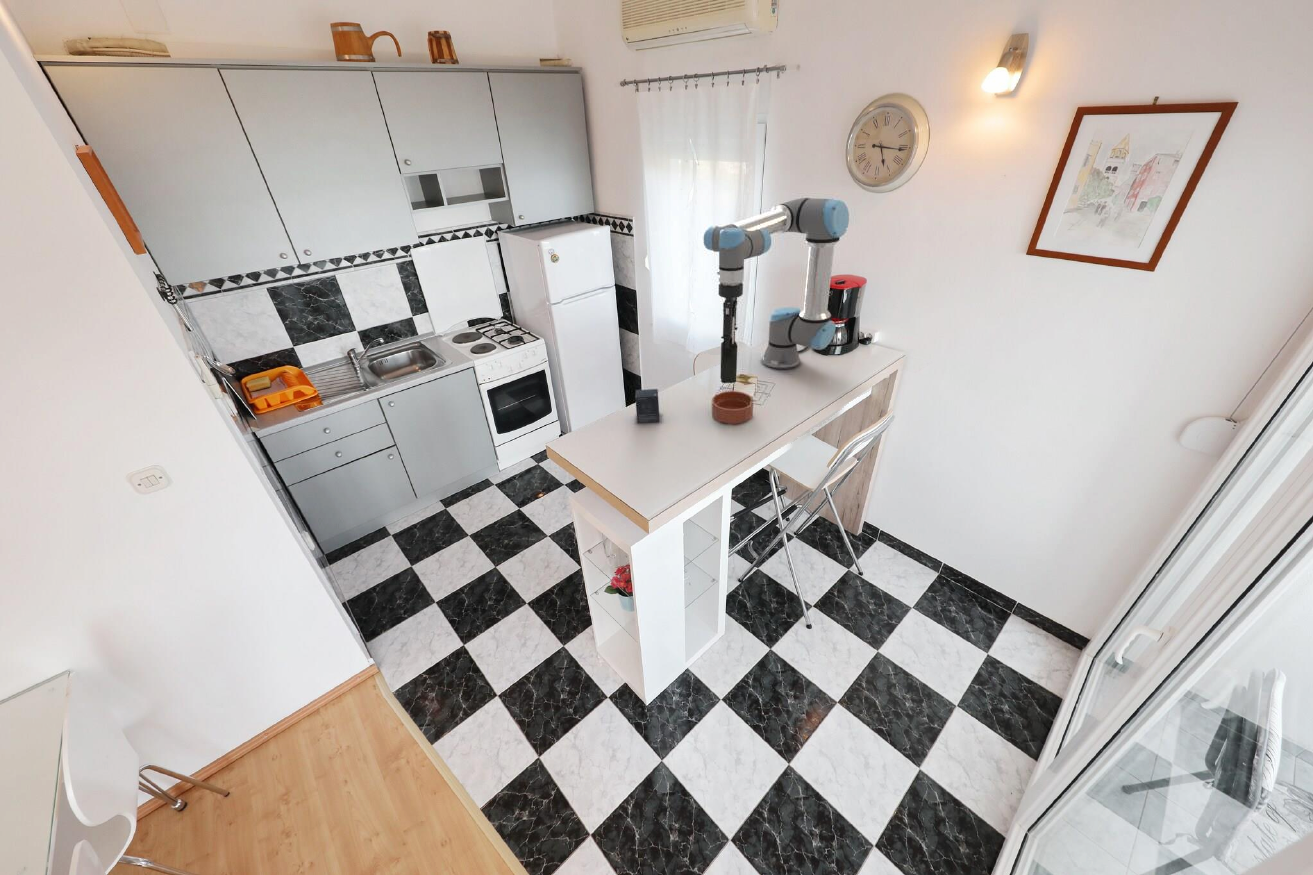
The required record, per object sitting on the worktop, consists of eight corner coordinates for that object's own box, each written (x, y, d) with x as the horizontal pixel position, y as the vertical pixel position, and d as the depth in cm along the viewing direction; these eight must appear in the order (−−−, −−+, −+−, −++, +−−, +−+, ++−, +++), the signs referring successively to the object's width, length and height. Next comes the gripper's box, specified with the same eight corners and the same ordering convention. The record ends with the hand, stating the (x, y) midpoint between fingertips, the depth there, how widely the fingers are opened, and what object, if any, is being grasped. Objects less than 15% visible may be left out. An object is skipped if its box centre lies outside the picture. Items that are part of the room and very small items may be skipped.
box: (659, 414, 181) (658, 388, 176) (659, 422, 176) (657, 395, 171) (637, 415, 181) (635, 389, 176) (637, 423, 177) (635, 396, 171)
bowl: (730, 401, 187) (731, 387, 184) (761, 415, 177) (762, 400, 174) (703, 415, 179) (703, 400, 176) (733, 429, 170) (733, 414, 166)
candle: (736, 382, 169) (739, 310, 156) (721, 383, 169) (722, 310, 156) (734, 376, 174) (737, 305, 160) (720, 376, 174) (721, 305, 161)
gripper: (723, 274, 163) (722, 342, 175) (713, 290, 148) (712, 363, 160) (746, 275, 161) (743, 343, 173) (739, 291, 146) (736, 365, 158)
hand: (729, 352), depth 166 cm, fingers closed on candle, 6 cm apart
